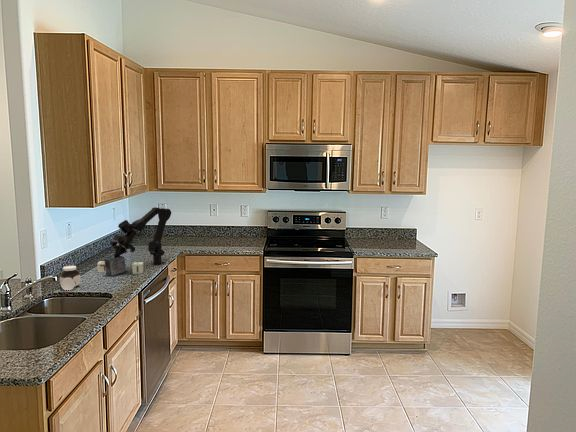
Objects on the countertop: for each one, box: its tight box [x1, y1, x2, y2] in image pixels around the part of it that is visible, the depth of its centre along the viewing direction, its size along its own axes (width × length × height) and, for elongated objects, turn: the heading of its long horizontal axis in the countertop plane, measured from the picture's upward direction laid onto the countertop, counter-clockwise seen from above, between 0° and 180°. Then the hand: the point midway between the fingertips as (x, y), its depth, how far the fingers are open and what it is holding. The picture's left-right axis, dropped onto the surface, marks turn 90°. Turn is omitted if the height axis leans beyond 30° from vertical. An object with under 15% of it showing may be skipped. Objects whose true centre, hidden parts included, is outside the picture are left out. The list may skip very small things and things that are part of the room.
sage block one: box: [131, 261, 144, 275], centre depth 287 cm, size 6×6×6 cm
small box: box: [103, 255, 127, 277], centre depth 281 cm, size 11×6×10 cm, turn 140°
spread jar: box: [59, 265, 82, 292], centre depth 251 cm, size 12×11×12 cm
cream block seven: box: [96, 260, 106, 273], centre depth 289 cm, size 6×6×6 cm
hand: (114, 257), depth 280 cm, fingers closed, pressing on small box
